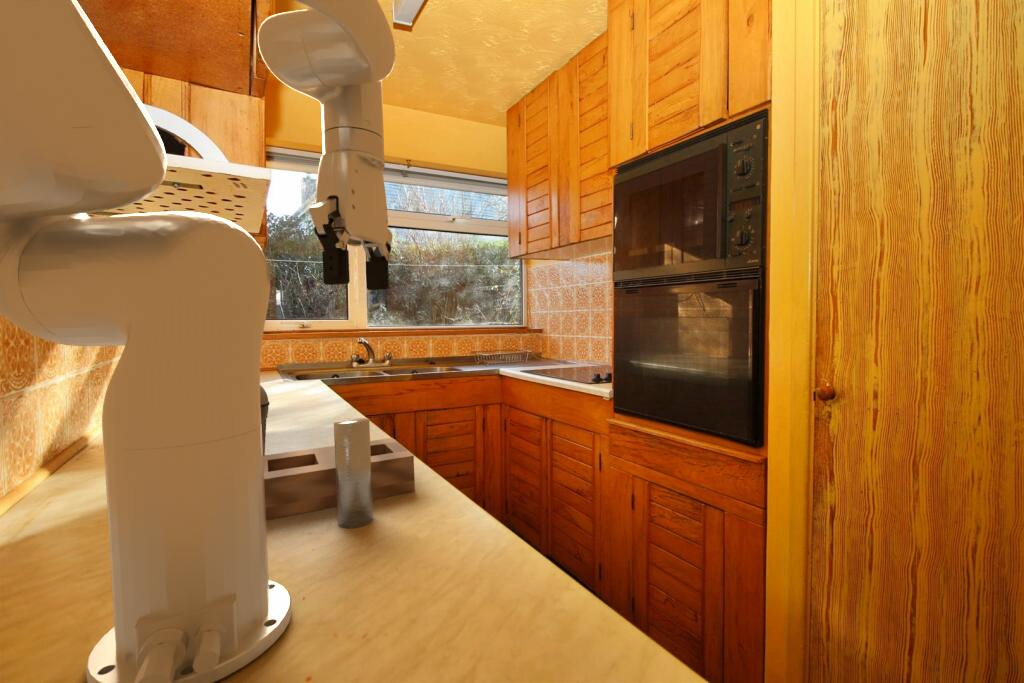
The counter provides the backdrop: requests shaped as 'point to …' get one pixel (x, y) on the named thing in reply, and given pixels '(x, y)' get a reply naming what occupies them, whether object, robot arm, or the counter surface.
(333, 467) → the walnut block
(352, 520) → the steel pin
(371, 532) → the counter surface
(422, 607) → the counter surface
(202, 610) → the robot arm
